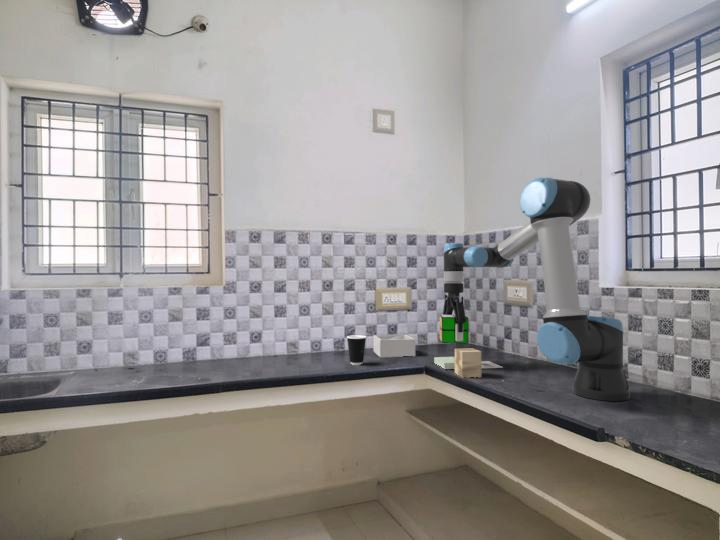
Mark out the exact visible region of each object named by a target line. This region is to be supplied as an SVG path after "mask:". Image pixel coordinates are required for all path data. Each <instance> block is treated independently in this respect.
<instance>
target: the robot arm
mask: <svg viewBox="0 0 720 540" xmlns="http://www.w3.org/2000/svg"><path fill="white" fill-rule="evenodd" d="M590 206H591V195H590V192H589V190H588V189H587V188H586V186H584V185H583V184H582V183H580V182H579V181H578V182H577V181H574V180H566V179H557V178H552V177H537V178H534V179H532V180H531V181H529V182H528V183H527V184H526V185H525V186H524V189H523V190H522V192H521V194H520V198H519V207H520V210H521V212H522V214H524V215H525V216H526V217H528V218H529V220H530V221H528V222H527V223H526V224H524V225H523V226H522V227H520V228H519V229H518V230H516V231H514V232H513V233H512V234H511V235H509V236H508V237H506V238H505V239H504V240H503V241H501V242H500V243H498V244H497V245H495V246H494V247H486V246H485V247H482V246H479V245H477V246H474V245H473V246H468V247H464V244H463V243H462V242H451V243H450V242H449V243H448V242H447V243H445V244H444V246H443V247H444V248H443V282H444V283H443V293H447V294H444V304H443V311H442V315H453V313H454V315H455V317H456V322H455V324H456V341H463V324H464V322H466V318H465V316H466V312H465V311H466V310H465V306H464V305H465V304H464V296H461V295H460V294H461V293H464V283H463V282H464V277H465V274H464V268H498V269H499V268H500V269H501V268H508V267H510V266H511V265H512V264H513V262H514V259H515V258H516V257H517V256H519V255H520V254H522V253H525V251H526V250H528V249H530V248H531V247H533V246H535V245H536V244H538V247H539V255H540V262H541V263H540V264H541V270H542V276H543V277H542V279H543V286H544V292H545V300H546V301H545V302H546V308H547V310H546V313H545V314H544V315H543V316H542V323H543V324H542V325H541V326H540V327H539V329H538V331H537V333H536V344H537V346H538V349H539V350H540V352H541V354H542V355H543V356H544V357H545V358H546V359H547V360H548V361H550V362H551V363H554V364H557V365H573V364H575V363H578V367H577V370H576V373H575V376H574V380H573V382H572V385H571V386H572V388H571V391H572V392H573V393H574V394H575V395H578V396H580V397H583V398H587V399H592V400H597V401H609V402H622V401H623V402H624V401H629V400H630V399H631V387H629V384H628V381H627V378H626V375H625V372H624V330H623V323H622V321H621V320H620V319H618V318H615V317H614V318H611V317H604V316H596V315H595V316H593V315H588V313H587V312H586V311H584V310H583V309H582V308H581V305H580V298H579V297H580V296H579V290H578V281H577V277H576V270H575V263H574V262H575V261H574V255H573V250H572V248H573V247H572V241H571V233H570V226H571V225H573V224H575V223H576V222H577V221H579V220H580V219H582V217H583V216H585V214H586V213H587V211H588V210H589V208H590Z"/></svg>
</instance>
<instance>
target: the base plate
mask: <svg viewBox="0 0 720 540" xmlns="http://www.w3.org/2000/svg"><path fill="white" fill-rule="evenodd" d="M433 359H434V360H433V362H434V363H435V365H436V364H437V365H436V366H438V365H439V366H441V367H442V368H444V369H454V370H455V356H438V357H437V356H435V357H434V358H433ZM439 366H438V367H439ZM441 367H440V368H441ZM442 368H441V369H442ZM444 369H443V370H444Z"/></svg>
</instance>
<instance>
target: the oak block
mask: <svg viewBox="0 0 720 540" xmlns="http://www.w3.org/2000/svg"><path fill="white" fill-rule="evenodd" d="M454 357H455V369H454V374H455V373H456V374H457V376H458V375H459V376H458V377H460V376H461V377H462V378H461V377H460V378H461V379H465V378H464V377H467V378H466V379H471V378H470V377H474V378H473V379H476V377H478V378H482V368H481V362H482V350H479V349H476V348H473V347H472V348H465V347H464V348H454ZM456 374H455V375H456Z"/></svg>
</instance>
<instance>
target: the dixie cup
mask: <svg viewBox="0 0 720 540" xmlns="http://www.w3.org/2000/svg"><path fill="white" fill-rule="evenodd" d="M366 338H367V336H366V335H361V334H360V335H358V334H356V335H355V334H354V335H347V336H346V339H347V347H348V348H347V349H348V356H349V357H348V358H349V362H350V365H351V364H352V366H362V365H363V364H364V363H363V362H364V361H365V360H364V358H365V347H366V340H367V339H366ZM361 364H362V365H361Z"/></svg>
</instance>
